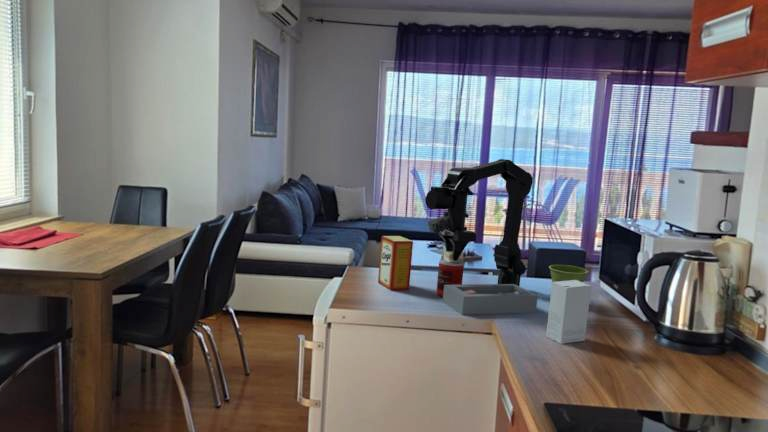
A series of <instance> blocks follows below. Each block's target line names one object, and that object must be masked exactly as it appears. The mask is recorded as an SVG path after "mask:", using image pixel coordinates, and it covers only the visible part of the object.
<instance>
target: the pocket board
mask: <svg viewBox="0 0 768 432" xmlns="http://www.w3.org/2000/svg"><path fill="white" fill-rule="evenodd" d="M514 289H516V290H518V291H520V292H521V294H517V295H508V294H504V293H511V292H514ZM468 290H473V291H475V292H476V294H467V293H465V292H463V291H468ZM497 292H500V293H502V294H497ZM538 297H539V295H538V294H535V293H533V292H532V291H529V290H528V289H525V288H523V287H521V286H517V285H515V284H497V283H496V284H493V283H492V284H489V283H488V284H487V283H485V284H477V283H476V284H474V283H473V284H462V285H444V292H443V298H442V303H444V304H445V305H447V306H448V307H450V308H451V309H453V310H454V311H455V312H457V313H458V314H460V315H499V314H503V315H504V314H505V315H506V314H534V313H537V305H538Z"/></svg>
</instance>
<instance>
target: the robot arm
mask: <svg viewBox="0 0 768 432" xmlns="http://www.w3.org/2000/svg"><path fill="white" fill-rule="evenodd" d="M498 175H500V177H501V178H502V179H503V180H504V181H505V190H506V192H507V195H508V202H507V208H506V213H505V214H506V215H505V222H504V228H503V233H502V235H503V237H502V240H501V242H500V243H499V244H495V245H494V253H493V254H492V256H493V259H494V262H495V266H496V270H499V274H498V276H497V282H496V284H515V285H517V286H519V287H521V286H520V285H521V284H520V283H521V276H522V275H525V273H526V270H527V267H526V265H525V264H524V262H523V261H522V259H521V258H522V251H521V248H520V244H519V236H520V229H521V223H522V216H523V210H524V204H525V199H526V198H527V196H528V195H529V194H530V193H531V189H532V186H533V182H534V178H533V176H532V174H531V173H530V172H528V171H526V170H525V169H523V168H522V167H521V166H518V165H517V164H516V163H514V161H512V160H510V159H506V158H500V159H498V160H494V161H491V162H487V163H483V164H480V165H475V166H473V167H452V168H450V169H449V170H448V173H447V175H446V176H445V178H444V180H442V181H441V184H440V185H439V186H430V190H429V191H428V192H427V194H426V196H425V198H424V199H425V200H424V202H425V205H426V207H427V209H429V210H444V212H443V216H440V217H437V218H434V219H433V218H432V219H431V220H428V221H427V224H428V228H429V231H430V232H431V233H433V234H438V235H439V237H440V238H442V240H443V243H444V246H445V251H453V261H457V260H458V258H459V256H460V255H461V253H463V251H464V249H465V248H466V247H467V245H468V244H469V243H472V242H473V243H476V242H477V239H478V235H477V233H476V232H475V231H473V230H469V229H468V227H467V226H465V225H466V218H468V217H469V213H467V204H468V196H474V192H473V191H472V190H471V189H470V187H472V186H473V185H476V183H477V182H479V181H480V180H483V179H487V178H490V177H495V176H498ZM445 210H446V211H445Z"/></svg>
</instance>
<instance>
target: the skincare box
mask: <svg viewBox="0 0 768 432" xmlns="http://www.w3.org/2000/svg"><path fill="white" fill-rule="evenodd" d="M592 287H593V286H592V285H590V284H587V283H585V282H584V281H583V282H580V281H578V280H569V281H559V282H552V281H551V289H550V298H549V299H550V300H549V306H548V307H549V308H548V317H547V326H546V335H545V336H546V337H547V338H549V339H550V340H553V341H554V340H555V341H554V342H556V341H557V342H556V343H558V344H561V345H562V344H563V345H565V344H570V343H577V342H585V341H586V335H587V334H586V332H587V325H588V324H587V323H588V316H589V308H590V302H591V300H590V299H591V292H592Z"/></svg>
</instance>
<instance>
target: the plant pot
mask: <svg viewBox="0 0 768 432" xmlns="http://www.w3.org/2000/svg"><path fill="white" fill-rule="evenodd" d="M548 269H549V270H550V277H551V283H552V282H559V281H569V280H578V281H580V282H583V283H584V281H585V279H586V275H587V274H588V273H589V270H588V269H585V268H583V267H579V266H575V265H569V264H551V265H549V266H548Z"/></svg>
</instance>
